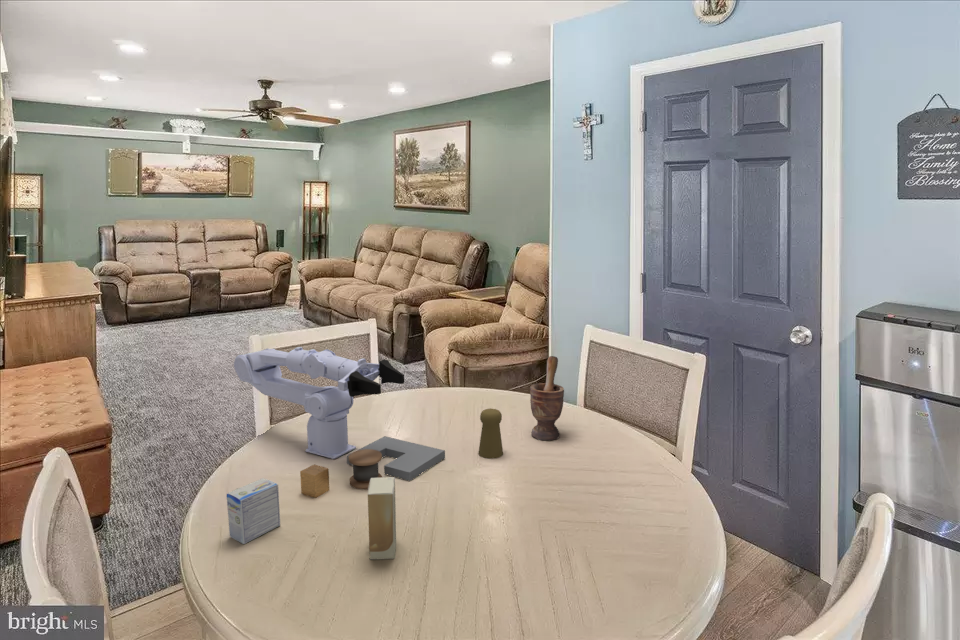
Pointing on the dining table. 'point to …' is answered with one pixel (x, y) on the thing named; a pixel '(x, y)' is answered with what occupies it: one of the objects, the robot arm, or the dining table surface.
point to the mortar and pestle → (547, 404)
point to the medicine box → (253, 510)
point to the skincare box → (382, 518)
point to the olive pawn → (490, 434)
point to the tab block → (314, 481)
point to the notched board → (405, 457)
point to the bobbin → (364, 467)
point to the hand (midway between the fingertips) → (391, 384)
